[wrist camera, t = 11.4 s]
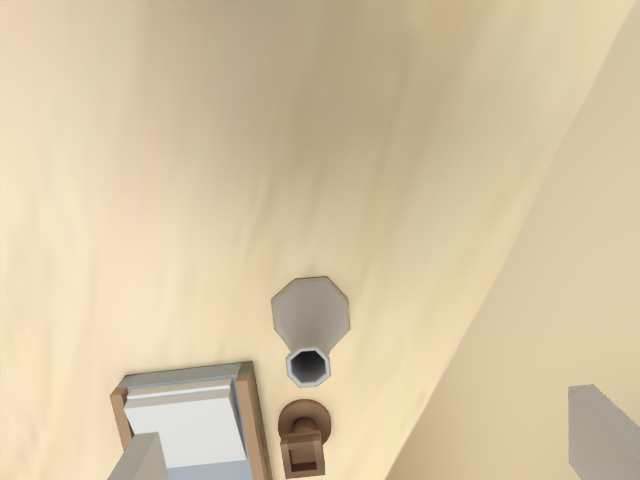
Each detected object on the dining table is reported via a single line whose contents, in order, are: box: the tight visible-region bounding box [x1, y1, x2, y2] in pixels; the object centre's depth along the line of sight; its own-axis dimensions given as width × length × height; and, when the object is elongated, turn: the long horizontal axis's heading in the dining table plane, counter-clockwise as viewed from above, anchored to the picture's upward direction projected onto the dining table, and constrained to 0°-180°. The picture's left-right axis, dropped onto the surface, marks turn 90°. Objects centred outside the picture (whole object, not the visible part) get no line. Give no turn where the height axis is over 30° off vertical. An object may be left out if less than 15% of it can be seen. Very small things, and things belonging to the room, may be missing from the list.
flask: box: [271, 277, 350, 388], centre depth 38 cm, size 7×7×10 cm
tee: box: [278, 400, 331, 479], centre depth 42 cm, size 5×5×5 cm
